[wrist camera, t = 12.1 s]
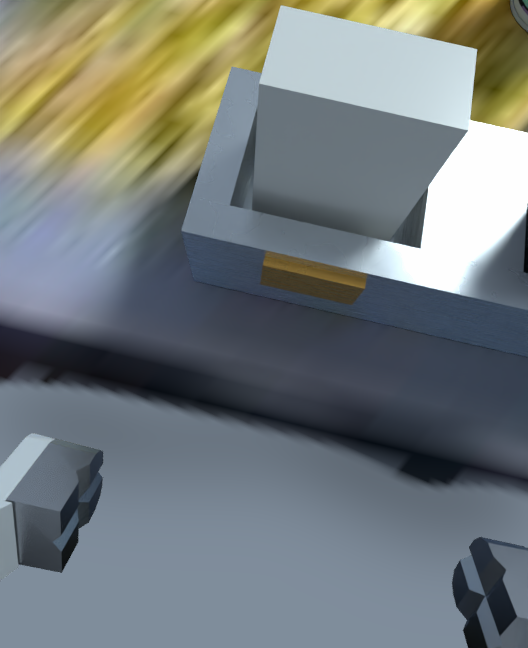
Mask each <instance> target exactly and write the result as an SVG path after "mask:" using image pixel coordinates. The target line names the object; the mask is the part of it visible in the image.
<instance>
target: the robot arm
mask: <svg viewBox="0 0 528 648" xmlns="http://www.w3.org/2000/svg"><path fill="white" fill-rule="evenodd" d="M102 464H103V451H101V450H98V449H94V448H90V447H86V446H82V445H78V444H74V443H71V442H67V441H63V440H59V439H54V438H50V437H46V436H42V435H38V434H34V433H32V434H30V435H29V436H27V437H25V438H24V439H23V441H21V443H20V444H19V445H18V446H17V447H16V448H15V450H14V451H13V452H12V453H11V454H10V455H9V457H8V458H7V459H6V460H5V461H4V462H3V464H2V465H1V466H0V581H1V580H2V579H3V578H5V577H6V576H7V575H9V574H10V573H11V572H13V571H14V570H15V569H17V568H18V564H20V565H25V566H30V567H36V568H41V569H45V570H50V571H55V572H60V573H62V571H63V569H64V568H65V566H66V564H67V562H68V560H69V558H70V556H71V555H72V553H73V551H74V549H75V547H76V545H77V543H78V534H79V528H81V527H82V526H84V525H85V524H87V523H89V521H90V519H91V517H92V515H93V513H94V511H95V509H96V506H97V503H98V501H99V498H100V494H101V489H102V481H103V478H102V476H101V475H100V473H99V472H98V471H99V470H100V468H101V466H102ZM469 549H470V552H471V555H470V556H468V557H466V558H464V559H461V560H460V561H459V563H458V564H457V566H456V568H455V569H454V574H453V581H452V587H453V595H454V599H455V603H456V607H457V608H458V609H459V611H460V612H461V613H462V614H463V616H464V617H465V618H466V619H467V621H466V624H465V626H464V629H463V632H464V635H465V639H466V642H467V646H468V648H528V548H526V547H524V546H519V545H515V544H510V543H506V542H501V541H497V540H492V539H488V538H483V537H479V538H477V539H475V540H474V541H473V542H472V543H471V545H470V546H469Z"/></svg>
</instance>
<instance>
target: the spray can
mask: <svg viewBox="0 0 528 648" xmlns="http://www.w3.org/2000/svg"><path fill="white" fill-rule="evenodd" d="M510 6H511V10H512V13H513V16H514V17H515V19H516V21H517V22H518V23H519V24H520V25H521V27H522V28H524V29H525V30H526V31H527V32H528V0H510Z"/></svg>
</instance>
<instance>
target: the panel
mask: <svg viewBox="0 0 528 648" xmlns="http://www.w3.org/2000/svg"><path fill="white" fill-rule="evenodd" d="M476 55H477V49H474V48H470V47H465V46H461V45H456V44H452V43H447V42H443V41H438V40H434V39H429V38H425V37H420V36H416V35H411V34H407V33H402V32H398V31H393V30H389V29H385V28H380V27H376V26H371V25H367V24H362V23H358V22H353V21H349V20H344V19H340V18H335V17H331V16H326V15H322V14H317V13H313V12H308V11H304V10H299V9H295V8H290V7H286V6H281V7H280V11H279V14H278V18H277V21H276V25H275V28H274V32H273V35H272V39H271V43H270V46H269V50H268V53H267V57H266V60H265V64H264V67H263V71H262V75H261V78H260V82H259V92H258V110H257V128H256V146H255V163H254V181H253V199H252V211H257V212H261V213H266V214H270V215H274V216H279V217H283V218H287V219H292V220H296V221H301V222H305V223H309V224H314V225H318V226H323V227H327V228H331V229H336V230H340V231H345V232H349V233H353V234H358V235H362V236H366V237H371V238H375V239H380V240H384V241H388V242H389V240H390V239H391V238H392V236H393V235H394V234H395V232H396V231H397V229H398V228H399V227H400V225H401V224H402V222H403V221H404V220H405V218H406V217H407V216H408V214H409V213H410V211H411V210H412V209H413V207H414V206H415V204H416V203H417V202H418V200H419V199H420V198H421V196H422V195H423V193H424V192H425V191H426V189H427V188H428V186H429V185H430V184H431V182H432V181H433V179H434V178H435V177H436V175H437V174H438V173H439V171H440V170H441V168H442V167H443V166H444V164H445V163H446V161H447V160H448V159H449V157H450V156H451V155H452V153H453V152H454V150H455V149H456V148H457V146H458V145H459V143H460V142H461V141H462V139H463V138H464V137H465V135H466V134H467V132H468V131H469V124H470V114H471V104H472V94H473V85H474V75H475V65H476Z"/></svg>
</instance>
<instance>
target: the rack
mask: <svg viewBox="0 0 528 648" xmlns="http://www.w3.org/2000/svg"><path fill="white" fill-rule="evenodd" d="M261 75H262V73H258V72H253V71H249V70H244V69H240V68H236V67H232V68H231V71H230V74H229V78H228V81H227V84H226V87H225V90H224V94H223V97H222V100H221V103H220V107H219V110H218V113H217V116H216V119H215V123H214V126H213V129H212V132H211V136H210V139H209V142H208V145H207V148H206V152H205V155H204V158H203V161H202V165H201V168H200V171H199V174H198V178H197V181H196V184H195V187H194V190H193V194H192V197H191V200H190V203H189V207H188V210H187V213H186V216H185V219H184V223H183V226H182V229H181V233H182V237H183V240H184V244H185V248H186V252H187V256H188V260H189V263H190V267H191V271H192V275H193V279H194V281H198V282H202V283H206V284H211V285H215V286H219V287H224V288H228V289H233V290H237V291H241V292H246V293H250V294H254V295H259V296H263V297H267V298H272V299H276V300H280V301H285V302H289V303H294V304H298V305H302V306H307V307H311V308H315V309H320V310H324V311H328V312H333V313H337V314H342V315H346V316H350V317H355V318H359V319H363V320H368V321H372V322H376V323H381V324H385V325H389V326H394V327H398V328H403V329H407V330H411V331H416V332H420V333H424V334H429V335H433V336H437V337H442V338H446V339H451V340H455V341H459V342H464V343H468V344H472V345H477V346H481V347H485V348H490V349H494V350H498V351H503V352H507V353H512V354H516V355H520V356H525V357H528V133H524V132H519V131H515V130H510V129H506V128H502V127H497V126H493V125H488V124H484V123H479V122H475V121H471V120H470V124H469V131H468V132H467V134H466V135H465V137H464V138H463V139H462V141H461V142H460V143H459V145H458V146H457V148H456V149H455V150H454V152H453V153H452V155H451V156H450V157H449V159H448V160H447V161H446V163H445V164H444V166H443V167H442V168H441V170H440V171H439V173H438V174H437V175H436V177H435V178H434V179H433V181H432V182H431V184H430V185H429V186H428V188H427V189H426V191H425V192H424V193H423V195H422V196H421V198H420V199H419V200H418V202H417V203H416V204H415V206H414V207H413V209H412V210H411V211H410V213H409V214H408V216H407V217H406V218H405V220H404V221H403V222H402V224H401V225H400V227H399V228H398V229H397V231H396V232H395V234H394V235H393V236H392V238H391V239H390V240H389V242H388V241H384V240H380V239H375V238H371V237H366V236H362V235H358V234H353V233H349V232H345V231H340V230H336V229H331V228H327V227H323V226H318V225H314V224H309V223H305V222H301V221H296V220H292V219H287V218H283V217H279V216H274V215H270V214H266V213H261V212H257V211H252V199H253V181H254V163H255V146H256V128H257V110H258V92H259V82H260V78H261Z"/></svg>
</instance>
